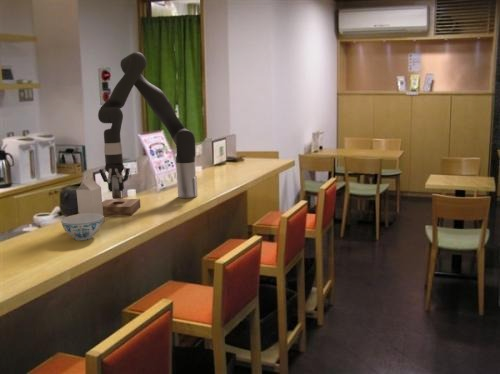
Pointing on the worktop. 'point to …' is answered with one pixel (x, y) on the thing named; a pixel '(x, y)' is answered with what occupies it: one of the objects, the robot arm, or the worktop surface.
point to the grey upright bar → (115, 187)
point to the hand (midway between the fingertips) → (116, 190)
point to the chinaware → (82, 225)
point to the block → (120, 207)
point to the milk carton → (90, 198)
